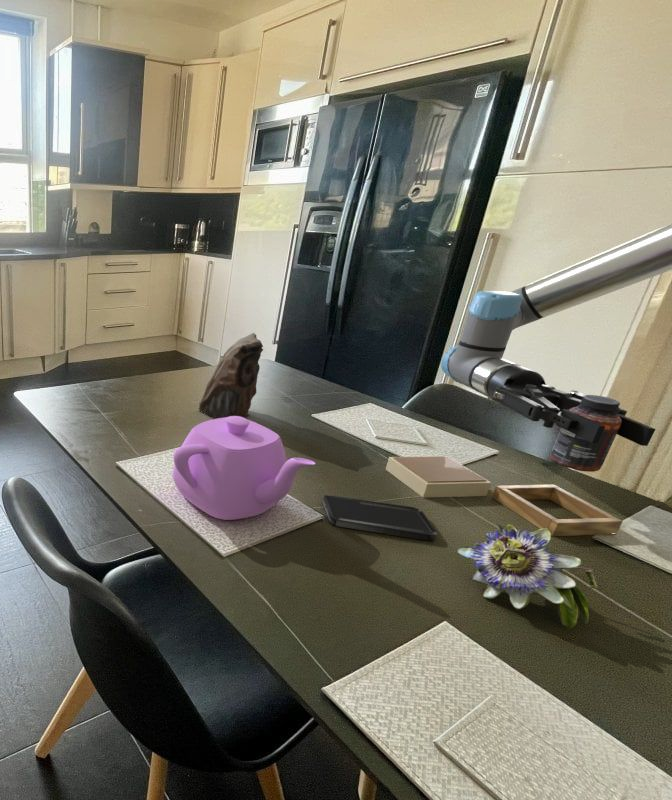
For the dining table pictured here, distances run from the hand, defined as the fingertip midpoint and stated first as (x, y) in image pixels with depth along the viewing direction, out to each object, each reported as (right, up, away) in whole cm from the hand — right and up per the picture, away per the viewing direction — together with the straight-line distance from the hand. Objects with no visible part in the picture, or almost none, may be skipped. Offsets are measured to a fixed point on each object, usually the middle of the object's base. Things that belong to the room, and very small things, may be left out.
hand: (623, 435), depth 71 cm
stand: (-12, -10, +20) cm, 26 cm away
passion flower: (-21, -21, -6) cm, 31 cm away
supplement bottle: (0, -5, +8) cm, 9 cm away
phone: (-31, -15, +9) cm, 35 cm away
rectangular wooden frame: (0, -14, +11) cm, 18 cm away
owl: (-43, +1, +49) cm, 65 cm away
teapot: (-53, -12, +14) cm, 56 cm away
